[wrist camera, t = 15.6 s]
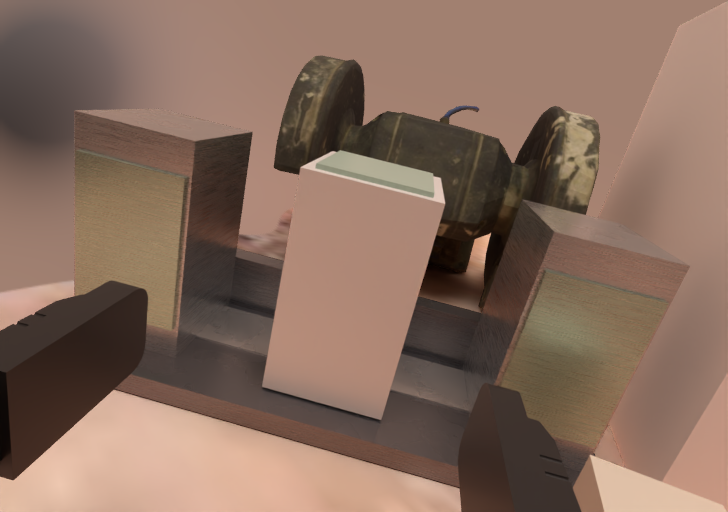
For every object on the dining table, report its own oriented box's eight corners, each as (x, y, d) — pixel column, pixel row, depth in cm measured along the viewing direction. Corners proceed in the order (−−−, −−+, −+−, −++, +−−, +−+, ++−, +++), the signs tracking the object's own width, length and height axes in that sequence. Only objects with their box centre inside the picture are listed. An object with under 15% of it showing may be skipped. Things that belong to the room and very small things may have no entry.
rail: (554, 396, 27) (632, 223, 23) (612, 531, 18) (751, 292, 15) (144, 284, 28) (155, 104, 24) (22, 362, 20) (10, 104, 16)
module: (391, 349, 25) (441, 173, 22) (381, 420, 20) (446, 198, 16) (298, 324, 26) (333, 147, 22) (261, 386, 20) (301, 162, 17)
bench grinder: (568, 338, 26) (657, 37, 28) (226, 221, 29) (331, -50, 31) (493, 328, 46) (548, 152, 48) (295, 260, 49) (356, 94, 51)
